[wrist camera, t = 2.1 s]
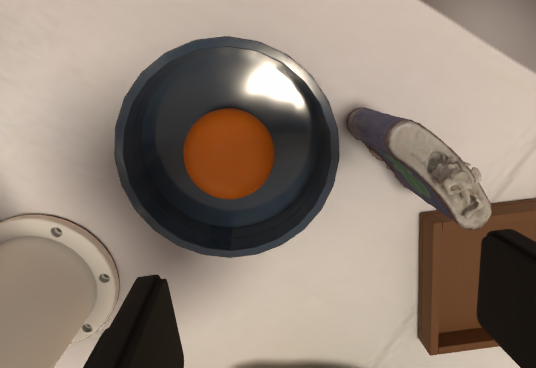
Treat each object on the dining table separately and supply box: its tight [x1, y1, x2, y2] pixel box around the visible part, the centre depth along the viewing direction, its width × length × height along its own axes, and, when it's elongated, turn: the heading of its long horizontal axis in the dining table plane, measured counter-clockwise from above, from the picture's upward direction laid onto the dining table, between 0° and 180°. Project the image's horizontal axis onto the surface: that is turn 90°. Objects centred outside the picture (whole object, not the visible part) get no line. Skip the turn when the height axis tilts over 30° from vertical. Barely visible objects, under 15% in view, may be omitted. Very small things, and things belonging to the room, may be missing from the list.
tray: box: [418, 198, 536, 355], centre depth 32 cm, size 17×14×2 cm
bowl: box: [114, 36, 339, 258], centre depth 26 cm, size 15×15×5 cm
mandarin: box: [183, 108, 275, 199], centre depth 25 cm, size 6×6×6 cm
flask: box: [347, 108, 492, 230], centre depth 24 cm, size 9×3×11 cm, turn 47°
